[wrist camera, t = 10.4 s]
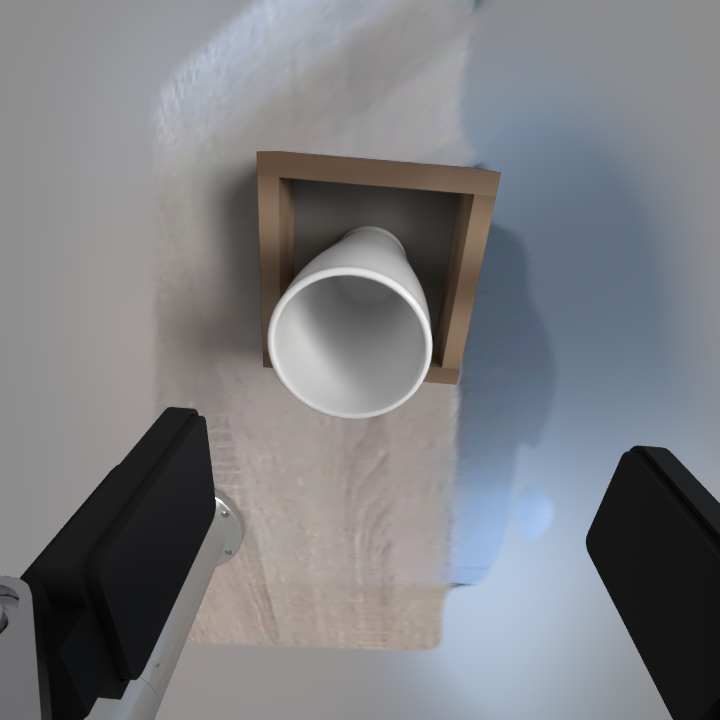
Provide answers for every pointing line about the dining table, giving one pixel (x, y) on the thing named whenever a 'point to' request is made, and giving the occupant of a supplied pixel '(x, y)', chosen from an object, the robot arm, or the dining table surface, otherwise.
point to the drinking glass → (353, 328)
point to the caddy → (384, 210)
